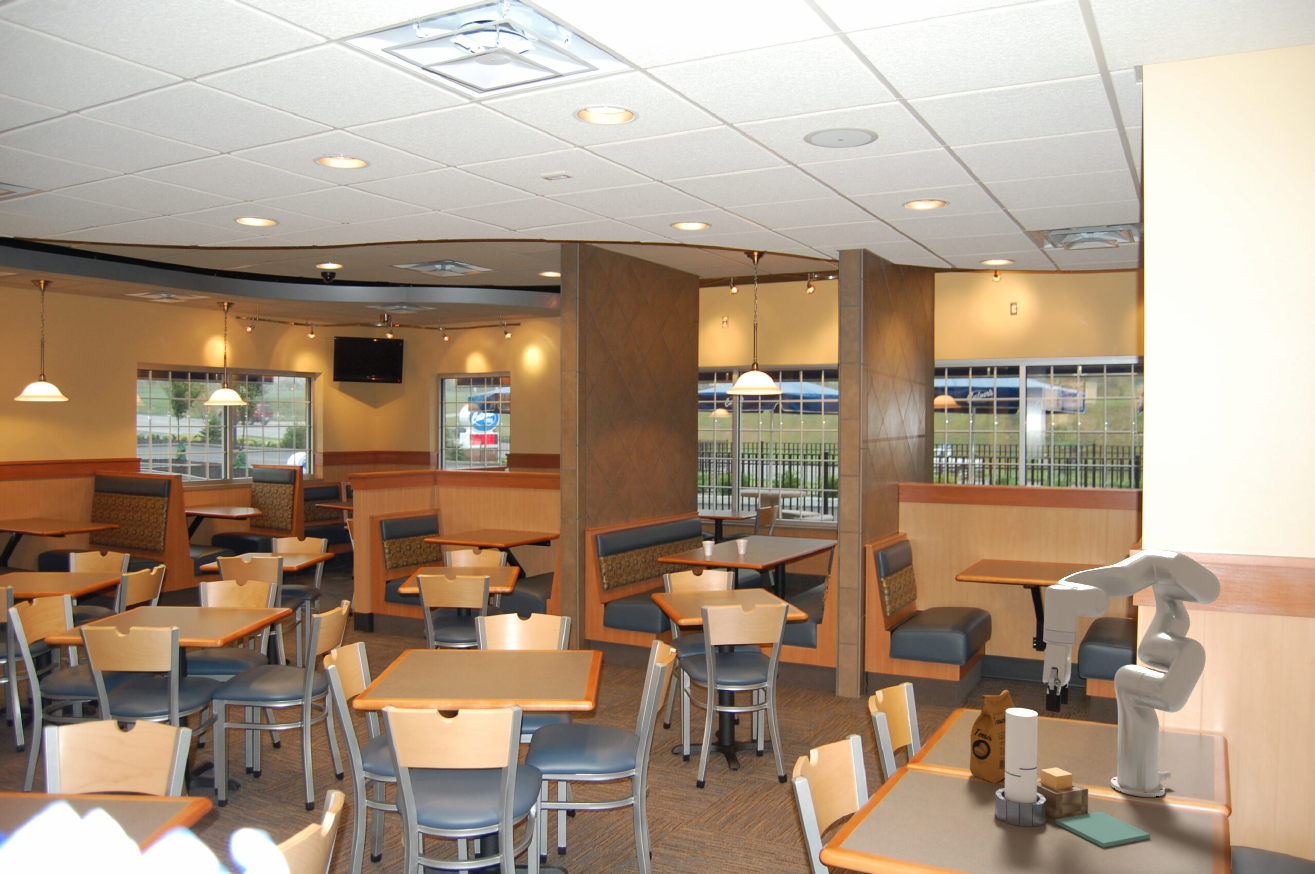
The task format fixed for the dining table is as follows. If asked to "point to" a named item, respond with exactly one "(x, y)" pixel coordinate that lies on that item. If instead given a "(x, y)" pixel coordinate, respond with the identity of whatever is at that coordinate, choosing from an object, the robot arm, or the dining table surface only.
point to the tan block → (1056, 778)
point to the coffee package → (990, 738)
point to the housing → (1064, 800)
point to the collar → (1020, 810)
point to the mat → (1102, 829)
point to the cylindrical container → (1021, 755)
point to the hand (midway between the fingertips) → (1056, 707)
